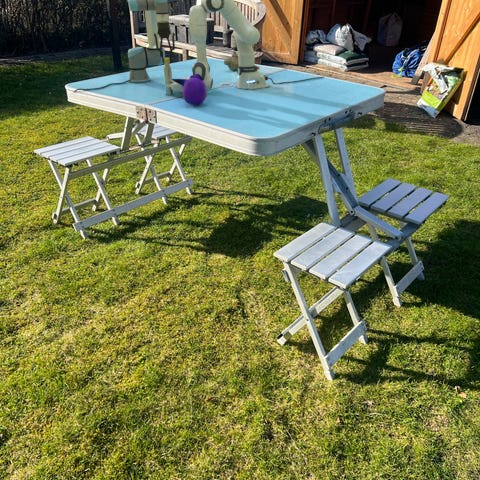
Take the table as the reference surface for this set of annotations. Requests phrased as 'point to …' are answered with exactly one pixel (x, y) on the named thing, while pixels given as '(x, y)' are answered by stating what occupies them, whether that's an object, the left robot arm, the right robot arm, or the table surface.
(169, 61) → the cap
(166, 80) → the bottle
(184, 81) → the toy
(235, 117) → the table surface
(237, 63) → the teapot
